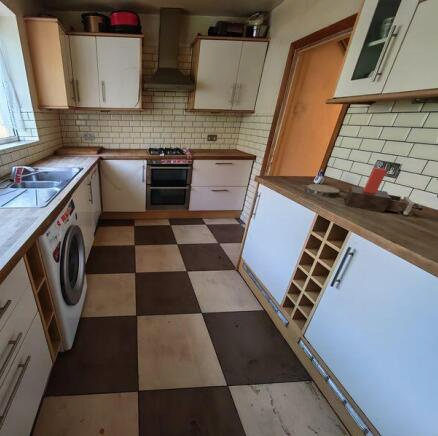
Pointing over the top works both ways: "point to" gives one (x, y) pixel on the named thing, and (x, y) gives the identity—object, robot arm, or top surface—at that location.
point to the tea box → (375, 180)
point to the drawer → (401, 205)
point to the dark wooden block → (367, 199)
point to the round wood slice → (322, 190)
